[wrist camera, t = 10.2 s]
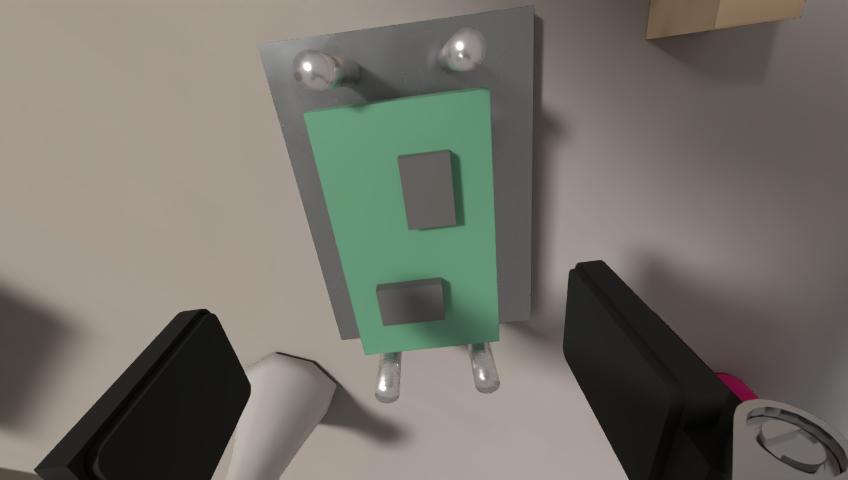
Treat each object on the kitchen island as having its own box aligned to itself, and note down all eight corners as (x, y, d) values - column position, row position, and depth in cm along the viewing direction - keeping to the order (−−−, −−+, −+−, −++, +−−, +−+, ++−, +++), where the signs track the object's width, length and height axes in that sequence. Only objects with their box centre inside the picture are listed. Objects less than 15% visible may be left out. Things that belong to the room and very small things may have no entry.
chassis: (265, 46, 17) (167, 26, 11) (527, 9, 17) (601, -36, 10) (344, 330, 25) (316, 425, 18) (526, 310, 24) (567, 401, 18)
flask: (269, 336, 25) (185, 482, 16) (353, 380, 27) (321, 532, 18) (226, 393, 28) (133, 549, 19) (307, 430, 30) (258, 586, 21)
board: (317, 108, 15) (297, 115, 13) (480, 87, 15) (492, 89, 12) (369, 330, 20) (363, 363, 18) (491, 316, 20) (501, 349, 17)
